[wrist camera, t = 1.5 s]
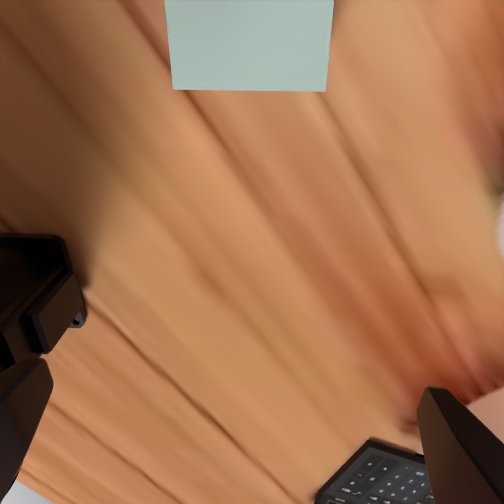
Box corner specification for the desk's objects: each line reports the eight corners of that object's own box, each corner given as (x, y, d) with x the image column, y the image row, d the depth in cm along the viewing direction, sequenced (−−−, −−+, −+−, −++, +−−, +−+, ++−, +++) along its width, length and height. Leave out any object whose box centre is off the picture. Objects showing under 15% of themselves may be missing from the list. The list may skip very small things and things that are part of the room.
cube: (200, 74, 17) (173, 89, 13) (192, -72, 14) (153, -116, 10) (313, 75, 17) (325, 91, 12) (325, -73, 14) (345, -119, 10)
